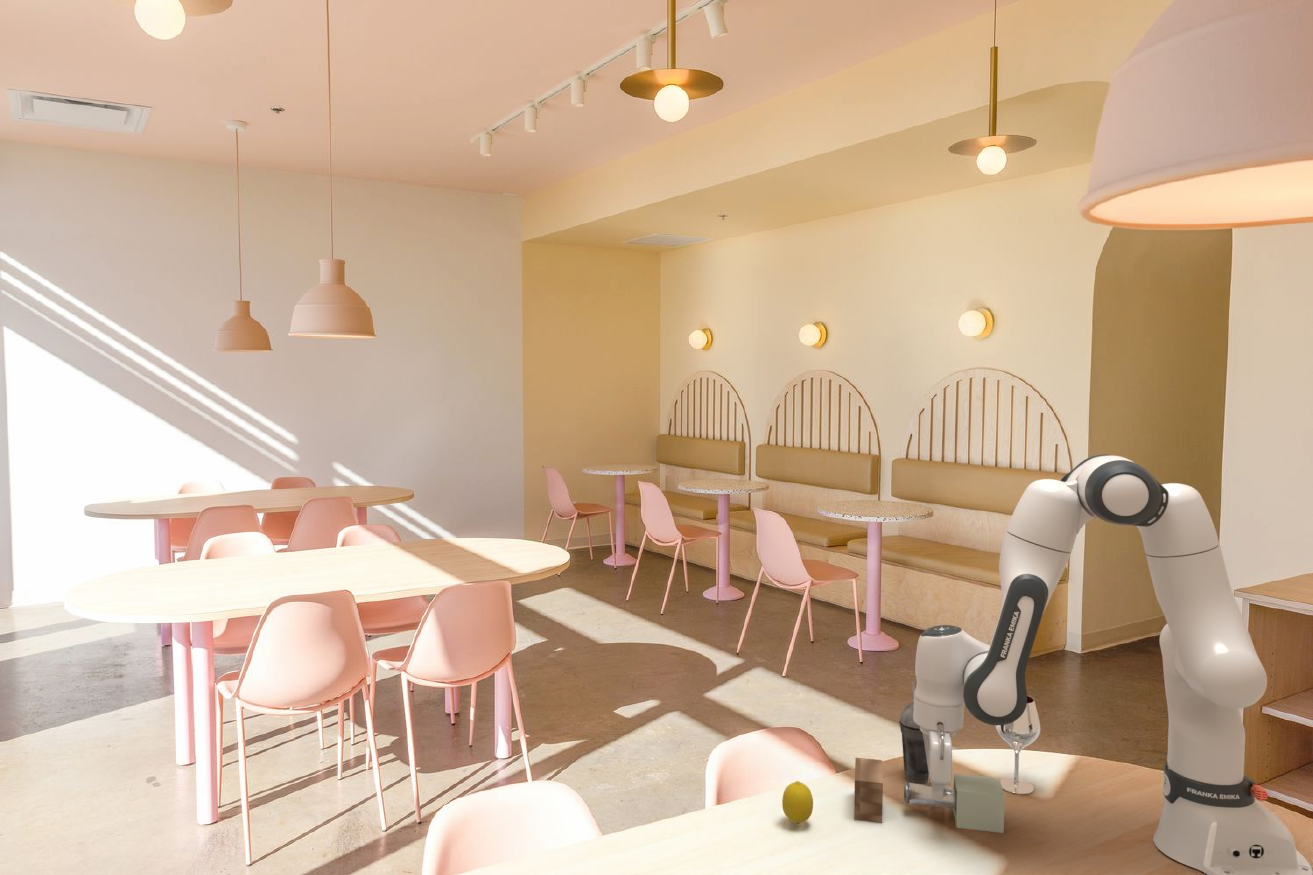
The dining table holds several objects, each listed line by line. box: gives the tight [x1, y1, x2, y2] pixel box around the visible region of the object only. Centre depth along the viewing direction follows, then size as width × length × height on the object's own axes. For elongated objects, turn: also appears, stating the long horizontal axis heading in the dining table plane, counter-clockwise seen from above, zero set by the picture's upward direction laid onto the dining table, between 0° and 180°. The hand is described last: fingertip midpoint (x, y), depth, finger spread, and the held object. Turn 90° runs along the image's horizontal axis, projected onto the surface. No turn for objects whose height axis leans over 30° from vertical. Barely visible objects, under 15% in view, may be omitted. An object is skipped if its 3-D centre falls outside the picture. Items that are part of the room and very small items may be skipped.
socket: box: [853, 757, 884, 824], centre depth 165 cm, size 5×10×8 cm, turn 166°
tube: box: [903, 782, 957, 810], centre depth 162 cm, size 16×4×4 cm, turn 76°
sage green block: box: [952, 773, 1006, 834], centre depth 161 cm, size 8×7×7 cm
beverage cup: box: [898, 681, 929, 785], centre depth 177 cm, size 7×7×20 cm
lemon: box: [781, 780, 814, 825], centre depth 160 cm, size 6×6×8 cm
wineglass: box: [995, 695, 1041, 795], centre depth 174 cm, size 8×8×18 cm
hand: (935, 786), depth 162 cm, fingers open, 8 cm apart
